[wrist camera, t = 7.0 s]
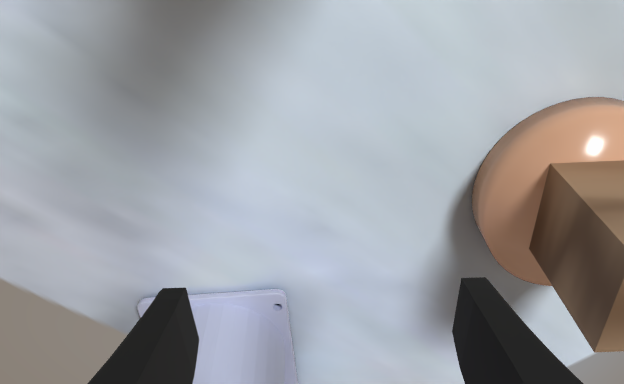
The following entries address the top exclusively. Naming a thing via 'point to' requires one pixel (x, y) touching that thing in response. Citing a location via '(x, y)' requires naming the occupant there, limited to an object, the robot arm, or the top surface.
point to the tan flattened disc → (539, 173)
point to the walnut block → (585, 246)
